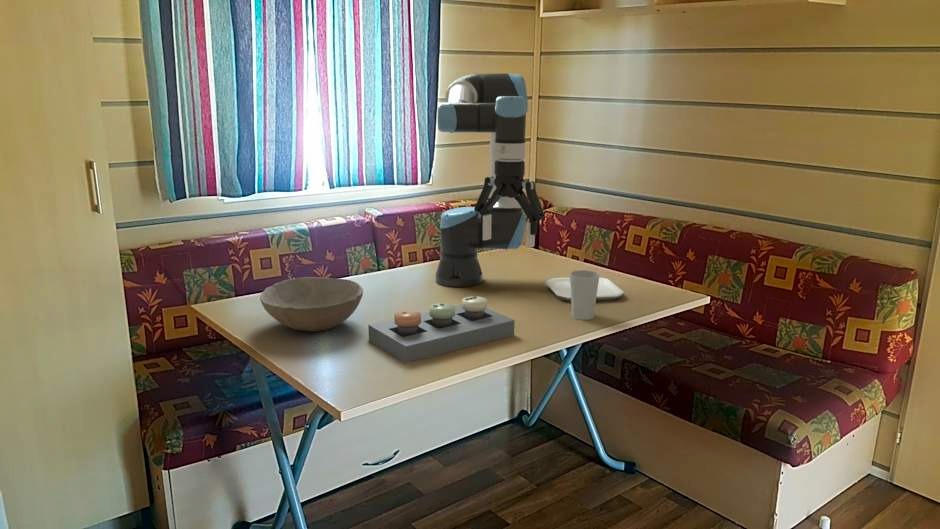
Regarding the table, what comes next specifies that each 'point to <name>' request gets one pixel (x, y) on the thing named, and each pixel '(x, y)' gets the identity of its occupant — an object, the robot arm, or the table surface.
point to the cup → (583, 293)
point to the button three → (474, 307)
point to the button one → (407, 322)
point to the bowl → (312, 302)
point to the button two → (442, 314)
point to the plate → (603, 292)
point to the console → (440, 334)
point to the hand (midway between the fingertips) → (508, 243)
